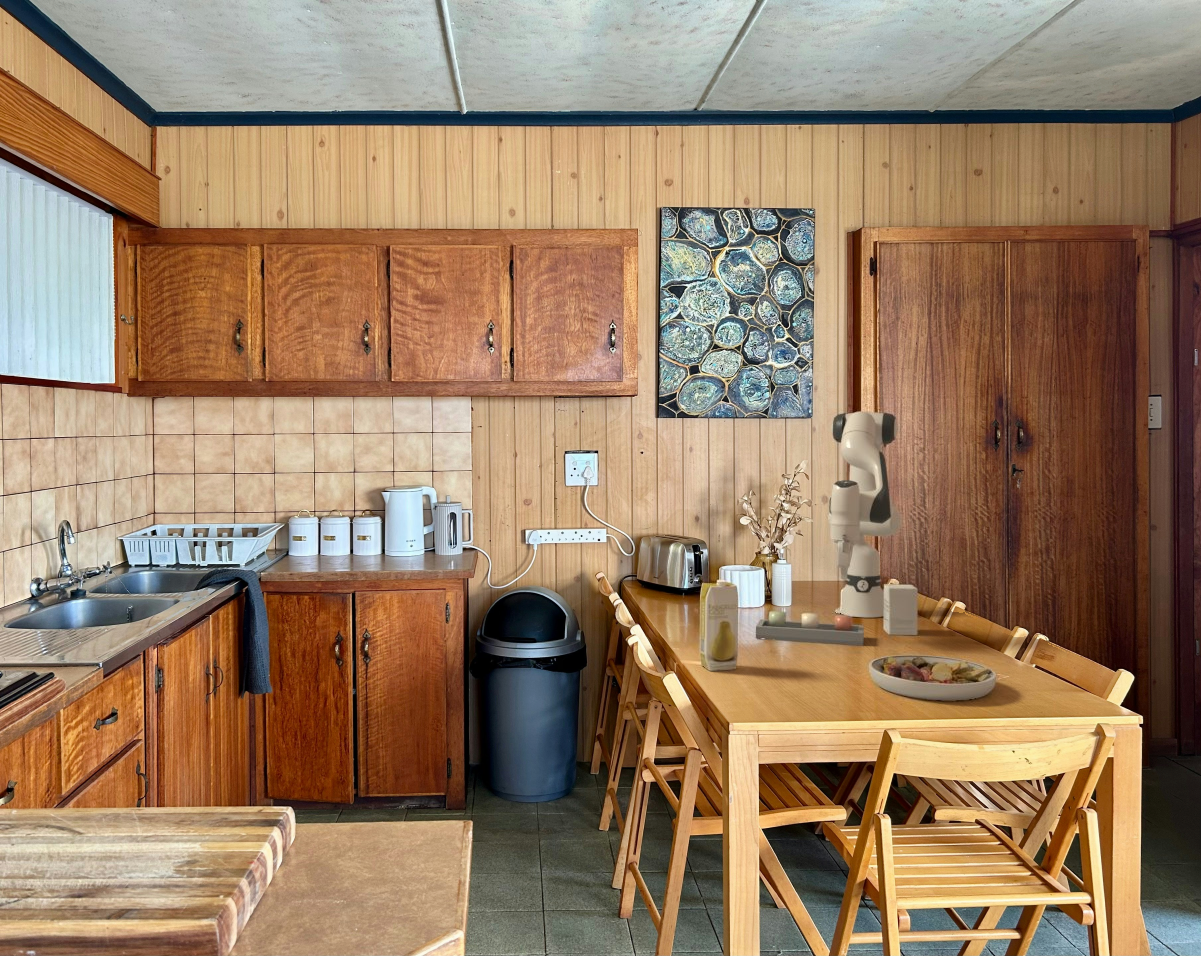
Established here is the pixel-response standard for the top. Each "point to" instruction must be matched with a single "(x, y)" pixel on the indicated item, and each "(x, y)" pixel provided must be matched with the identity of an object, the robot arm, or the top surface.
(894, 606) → the supplement box
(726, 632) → the juice carton
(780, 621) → the sage button
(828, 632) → the grey rectangular tray
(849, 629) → the brick button
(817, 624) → the cream round piece
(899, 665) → the bowl
